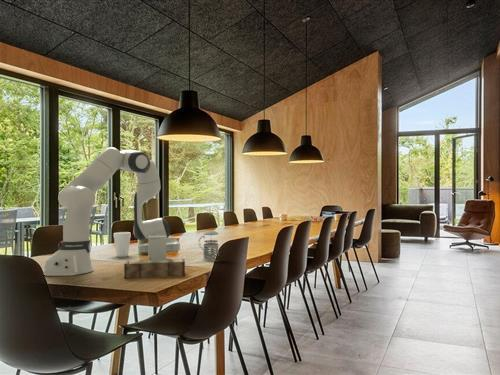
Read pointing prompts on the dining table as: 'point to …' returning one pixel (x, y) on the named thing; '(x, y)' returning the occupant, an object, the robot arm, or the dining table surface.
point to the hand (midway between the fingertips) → (158, 249)
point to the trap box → (154, 269)
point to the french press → (210, 246)
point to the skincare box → (156, 248)
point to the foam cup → (122, 243)
